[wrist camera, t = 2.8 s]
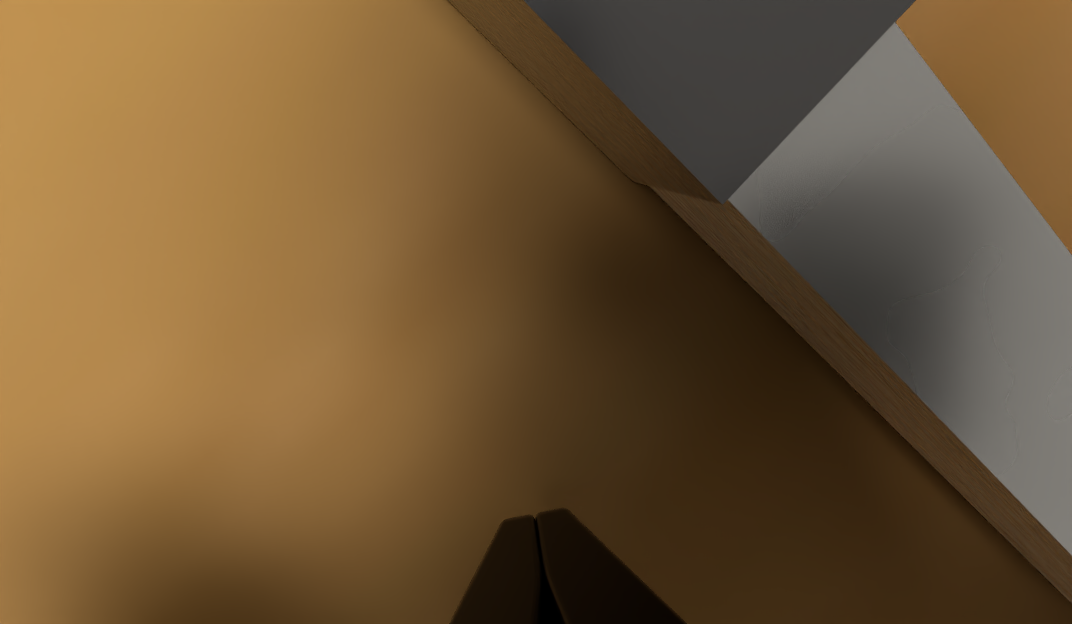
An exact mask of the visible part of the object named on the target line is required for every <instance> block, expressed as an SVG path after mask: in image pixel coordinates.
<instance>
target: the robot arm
mask: <svg viewBox="0 0 1072 624" xmlns="http://www.w3.org/2000/svg"><path fill="white" fill-rule="evenodd" d="M449 624H687V623H686V622H685V621H684V620H683V619H682V618H680V617H679V616H678V615H677V614H676V613H675V612H674V611H673V610H672V609H671V608H670V607H669V606H668V605H667V604H666V603H665V602H664V601H663V600H662V599H661V598H660V597H659V596H658V595H657V594H655V593H654V592H653V591H652V590H651V589H650V588H649V587H648V586H647V585H646V584H645V583H644V582H643V581H642V580H641V579H640V578H639V577H638V576H637V575H636V574H635V573H634V572H633V571H631V570H630V569H629V568H628V567H627V566H626V565H625V564H624V563H623V562H622V561H621V560H620V559H619V558H618V557H617V556H616V555H615V554H614V553H613V552H612V551H611V550H610V549H609V548H607V547H606V546H605V545H604V544H603V543H602V542H601V541H600V540H599V539H598V538H597V537H596V536H595V535H594V534H593V533H592V532H591V531H590V530H589V529H588V528H587V527H586V526H585V525H584V524H582V523H581V522H580V521H579V520H578V519H577V518H576V517H575V516H574V515H573V514H572V513H571V512H570V511H569V510H568V509H566V508H559V509H554V510H549V511H545V512H540V513H538V514H537V515H536V521H535V518H534V517H533V516H532V515H525V516H520V517H515V518H510V519H506V520H504V521H503V522H502V523H501V525H500V527H499V528H498V530H497V532H496V534H495V536H494V538H493V540H492V542H491V544H490V546H489V548H488V550H487V552H486V554H485V555H484V557H483V559H482V561H481V563H480V565H479V567H478V569H477V571H476V573H475V575H474V577H473V579H472V580H471V582H470V584H469V586H468V588H467V590H466V592H465V594H464V596H463V598H462V600H461V602H460V604H459V606H458V607H457V609H456V611H455V613H454V615H453V617H452V619H451V621H450V623H449Z"/></svg>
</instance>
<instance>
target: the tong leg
mask: <svg viewBox="0 0 1072 624" xmlns="http://www.w3.org/2000/svg"><path fill="white" fill-rule="evenodd" d="M448 1H449V2H450V3H451V4H452V5H453V6H454V7H455V8H456V9H457V10H458V11H459V12H460V13H461V14H462V15H463V16H464V17H465V18H466V19H467V20H468V21H469V22H470V23H471V24H472V25H473V26H474V27H476V28H477V29H478V30H479V31H480V32H481V33H482V34H483V35H484V36H485V37H486V38H487V39H488V40H489V41H490V42H491V43H492V44H493V45H494V46H495V47H496V48H497V49H498V50H499V51H500V52H501V53H502V54H503V55H504V56H505V57H506V58H507V59H508V60H509V61H510V62H511V63H512V64H513V65H514V66H515V67H516V68H517V69H518V70H519V71H520V72H521V73H522V74H523V75H524V76H525V77H527V78H528V79H529V80H530V81H531V82H532V83H533V84H534V85H535V86H536V87H537V88H538V89H539V90H540V91H541V92H542V93H543V94H544V95H545V96H546V97H547V98H548V99H549V100H550V101H551V102H552V103H553V104H554V105H555V106H556V107H557V108H558V109H559V110H560V111H561V112H562V113H563V114H564V115H565V116H566V117H567V118H568V119H569V120H570V121H571V122H572V123H573V124H574V125H575V126H576V127H578V128H579V129H580V130H581V131H582V132H583V133H584V134H585V135H586V136H587V137H588V138H589V139H590V140H591V141H592V142H593V143H594V144H595V145H596V146H597V147H598V148H599V149H600V150H601V151H602V152H603V153H604V154H605V155H606V156H607V157H608V158H609V159H610V160H611V161H612V162H613V163H614V164H615V165H616V166H617V167H618V168H619V169H620V170H621V171H622V172H623V173H624V174H625V175H626V176H627V177H629V178H630V179H631V180H632V181H633V182H637V183H641V184H645V185H648V186H650V187H651V188H652V189H653V190H654V191H655V192H656V193H657V194H658V195H659V196H660V197H661V198H662V199H663V200H664V201H665V202H666V203H667V204H668V205H669V206H670V207H671V208H672V209H673V210H674V211H675V212H676V213H677V214H678V215H679V216H680V217H681V218H682V219H683V220H684V221H685V222H686V223H687V224H688V225H689V226H690V227H691V228H692V229H693V230H694V231H695V232H696V233H697V234H698V235H699V236H700V237H701V238H702V239H703V240H704V241H705V242H706V243H707V244H708V245H709V246H710V247H711V248H712V249H713V250H714V251H715V252H716V253H717V254H718V255H719V256H720V257H721V258H722V259H723V260H724V261H725V262H726V263H727V264H728V265H729V266H730V267H732V268H733V269H734V270H735V271H736V272H737V273H738V274H739V275H740V276H741V277H742V278H743V279H744V280H745V281H746V282H747V283H748V284H749V285H750V286H751V287H752V288H753V289H754V290H755V291H756V292H757V293H758V294H759V295H760V296H761V297H762V298H763V299H764V300H765V301H766V302H767V303H768V304H769V305H770V306H771V307H772V308H773V309H774V310H775V311H776V312H777V313H778V314H779V315H780V316H781V317H782V318H783V319H784V320H785V321H786V322H787V323H788V324H789V325H790V326H791V327H792V328H793V329H794V330H795V331H796V332H797V333H798V334H799V335H800V336H801V337H802V338H803V339H804V340H805V341H806V342H807V343H808V344H809V345H810V346H811V347H812V348H813V349H814V350H815V351H817V352H818V353H819V354H820V355H821V356H822V357H823V358H824V359H825V360H826V361H827V362H828V363H829V364H830V365H831V366H832V367H833V368H834V369H835V370H836V371H837V372H838V373H839V374H840V375H841V376H842V377H843V378H844V379H845V380H846V381H847V382H848V383H849V384H850V385H851V386H852V387H853V388H854V389H855V390H856V391H857V392H858V393H859V394H860V395H861V396H862V397H863V398H864V399H865V400H866V401H867V402H868V403H869V404H870V405H871V406H872V407H873V408H874V409H875V410H876V411H877V412H878V413H879V414H880V415H881V416H882V417H883V418H884V419H885V420H886V421H887V422H888V423H889V424H890V425H891V426H892V427H893V428H894V429H895V430H896V431H897V432H898V433H899V434H900V435H902V436H903V437H904V438H905V439H906V440H907V441H908V442H909V443H910V444H911V445H912V446H913V447H914V448H915V449H916V450H917V451H918V452H919V453H920V454H921V455H922V456H923V457H924V458H925V459H926V460H927V461H928V462H929V463H930V464H931V465H932V466H933V467H934V468H935V469H936V470H937V471H938V472H939V473H940V474H941V475H942V476H943V477H944V478H945V479H946V480H947V481H948V482H949V483H950V484H951V485H952V486H953V487H954V488H955V489H956V490H957V491H958V492H959V493H960V494H961V495H962V496H963V497H964V498H965V499H966V500H967V501H968V502H969V503H970V504H971V505H972V506H973V507H974V508H975V509H976V510H977V511H978V512H979V513H980V514H981V515H982V516H983V517H984V518H985V519H987V520H988V521H989V522H990V523H991V524H992V525H993V526H994V527H995V528H996V529H997V530H998V531H999V532H1000V533H1001V534H1002V535H1003V536H1004V537H1005V538H1006V539H1007V540H1008V541H1009V542H1010V543H1011V544H1012V545H1013V546H1014V547H1015V548H1016V549H1017V550H1018V551H1019V552H1020V553H1021V554H1022V555H1023V556H1024V557H1025V558H1026V559H1027V560H1028V561H1029V562H1030V563H1031V564H1032V565H1033V566H1034V567H1035V568H1036V569H1037V570H1038V571H1039V572H1040V573H1041V574H1042V575H1043V576H1044V577H1045V578H1046V579H1047V580H1048V581H1049V582H1050V583H1051V584H1052V585H1053V586H1054V587H1055V588H1056V589H1057V590H1058V591H1059V592H1060V593H1061V594H1062V595H1063V596H1064V597H1065V598H1066V599H1067V600H1068V601H1070V602H1071V603H1072V255H1071V254H1070V252H1069V251H1068V250H1067V248H1066V247H1065V246H1064V244H1063V243H1062V242H1061V240H1060V239H1059V238H1058V236H1057V235H1056V234H1055V232H1054V231H1053V230H1052V228H1051V227H1050V226H1049V225H1048V223H1047V222H1046V221H1045V219H1044V218H1043V217H1042V215H1041V214H1040V213H1039V211H1038V210H1037V209H1036V207H1035V206H1034V205H1033V203H1032V202H1031V201H1030V199H1029V198H1028V197H1027V196H1026V194H1025V193H1024V192H1023V190H1022V189H1021V188H1020V186H1019V185H1018V184H1017V182H1016V181H1015V180H1014V178H1013V177H1012V176H1011V174H1010V173H1009V172H1008V170H1007V169H1006V168H1005V167H1004V165H1003V164H1002V163H1001V161H1000V160H999V159H998V157H997V156H996V155H995V153H994V152H993V151H992V149H991V148H990V147H989V145H988V144H987V143H986V141H985V140H984V139H983V138H982V136H981V135H980V134H979V132H978V131H977V130H976V128H975V127H974V126H973V124H972V123H971V122H970V120H969V119H968V118H967V116H966V115H965V114H964V112H963V111H962V110H961V109H960V107H959V106H958V105H957V103H956V102H955V101H954V99H953V98H952V97H951V95H950V94H949V93H948V91H947V90H946V89H945V87H944V86H943V85H942V83H941V82H940V81H939V80H938V78H937V77H936V76H935V74H934V73H933V72H932V70H931V69H930V68H929V66H928V65H927V64H926V62H925V61H924V60H923V58H922V57H921V56H920V54H919V53H918V52H917V51H916V49H915V48H914V47H913V45H912V44H911V43H910V41H909V40H908V39H907V37H906V36H905V35H904V33H903V32H902V31H901V29H900V28H899V27H898V25H897V24H896V23H895V22H896V21H897V20H898V18H899V17H900V16H901V15H902V14H903V13H904V12H905V11H906V10H907V9H908V8H909V7H910V6H911V5H912V4H913V3H914V1H915V0H448Z"/></svg>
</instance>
